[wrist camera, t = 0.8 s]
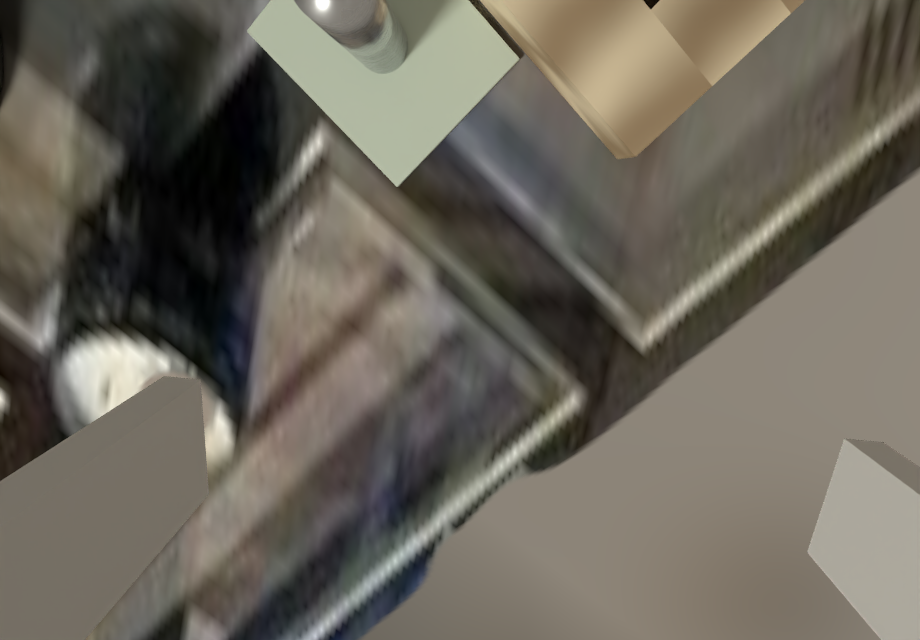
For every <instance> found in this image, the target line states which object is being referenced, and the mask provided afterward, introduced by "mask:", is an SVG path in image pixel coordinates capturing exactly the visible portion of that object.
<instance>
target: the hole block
mask: <svg viewBox="0 0 920 640" xmlns="http://www.w3.org/2000/svg"><path fill="white" fill-rule="evenodd" d="M480 1H481V2H482V4H483V5H484V6H485V7H486V8H487V9H488V11H489V12H490V13H491V14H492V15H493V16H494V17H495V19H496V20H497V21H498V22H499V23H500V24H501V26H502V27H503V28H504V29H505V30H506V31H507V32H508V34H509V35H510V36H511V37H512V38H513V39H514V41H515V42H516V43H517V44H518V45H519V46H520V47H521V49H522V50H523V51H524V52H525V53H526V54H527V56H528V57H529V58H530V59H531V60H532V61H533V62H534V64H535V65H536V66H537V67H538V68H539V69H540V70H541V72H542V73H543V74H544V75H545V76H546V77H547V79H548V80H549V81H550V82H551V83H552V84H553V85H554V87H555V88H556V89H557V90H558V91H559V92H560V94H561V95H562V96H563V97H564V98H565V99H566V100H567V102H568V103H569V104H570V105H571V106H572V107H573V109H574V110H575V111H576V112H577V113H578V114H579V115H580V117H581V118H582V119H583V120H584V121H585V122H586V124H587V125H588V126H589V127H590V128H591V129H592V130H593V132H594V133H595V134H596V135H597V136H598V137H599V139H600V140H601V141H602V142H603V143H604V144H605V145H606V147H607V148H608V149H609V150H610V151H611V152H612V154H613V155H614V156H615V157H616V158H617V159H623V158H630V157H636V156H637V155H638V154H639V153H640V152H641V151H642V150H644V149H645V148H646V147H647V146H648V145H649V144H650V143H651V142H652V141H653V140H654V139H655V138H657V137H658V136H659V135H660V134H661V133H662V132H663V131H664V130H665V129H666V128H667V127H668V126H670V125H671V124H672V123H673V122H674V121H675V120H676V119H677V118H678V117H679V116H680V115H681V114H682V113H684V112H685V111H686V110H687V109H688V108H689V107H690V106H691V105H692V104H693V103H694V102H695V101H697V100H698V99H699V98H700V97H701V96H702V95H703V94H704V93H705V92H706V91H707V90H708V89H710V88H711V87H712V86H713V85H714V84H715V83H716V82H717V81H718V80H719V79H720V78H721V77H723V76H724V75H725V74H726V73H727V72H728V71H729V70H730V69H731V68H732V67H733V66H734V65H736V64H737V63H738V62H739V61H740V60H741V59H742V58H743V57H744V56H745V55H746V54H747V53H749V52H750V51H751V50H752V49H753V48H754V47H755V46H756V45H757V44H758V43H759V42H760V41H762V40H763V39H764V38H765V37H766V36H767V35H768V34H769V33H770V32H771V31H772V30H773V29H775V28H776V27H777V26H778V25H779V24H780V23H781V22H782V21H783V20H784V19H785V18H786V17H788V16H789V15H790V14H791V13H792V12H793V11H794V10H795V9H796V8H797V7H798V6H799V5H801V4H802V3H803V2H804V1H805V0H660V1H659V2H658V3H657V4H656V5H655V6H654V7H653V8H652V9H651V10H650V8H649V7H648V6H647V5H646V3H645V2H644V1H643V0H480Z"/></svg>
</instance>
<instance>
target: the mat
mask: <svg viewBox="0 0 920 640" xmlns="http://www.w3.org/2000/svg"><path fill="white" fill-rule="evenodd" d="M387 1H388V3H389V5H390V6H391V8H392V10H393V11H394V13H395V15H396V17H397V18H398V20H399V22H400V23H401V25H402V27H403V28H404V30H405V32H406V35H407V38H408V52H407V56H406V58H405V60H404V62H403V63H402V65H401V66H400V67H399V68H398V69H396V70H395V71H393V72H390V73H386V74H379V73H375V72H373V71H371V70H369V69H368V68H366V67H365V66H364V65H363V64H362V63H361V62H359V61H358V60H357V59H356V58H355V57H354V56H353V55H351V54H350V53H349V52H348V51H347V50H346V49H345V48H343V47H342V46H341V45H340V44H339V43H338V42H337V41H335V40H334V39H333V38H332V37H331V36H330V35H328V34H327V33H326V32H325V31H324V30H323V29H322V28H320V27H319V26H318V25H317V24H316V23H315V22H314V21H312V20H311V19H310V18H309V17H308V16H307V15H305V14H304V13H303V12H302V11H301V10H300V8H299V7H298V6H297V4H296V3H295V1H294V0H271V1H270V2H269V3H268V5H267V6H266V7H265V8H264V10H263V11H262V12H261V14H260V15H259V16H258V17H257V19H256V20H255V21H254V22H253V24H252V25H251V26H250V28H249V29H248V30H247V32H248V33H249V34H250V35H251V36H252V37H253V38H254V39H255V40H256V41H257V42H258V43H259V44H260V45H261V47H262V48H263V49H264V50H265V51H266V52H267V53H268V54H269V55H270V56H271V57H272V58H273V59H274V60H275V61H276V62H277V63H278V64H279V65H280V66H281V67H282V68H283V69H284V70H285V71H286V72H287V73H288V74H289V76H290V77H291V78H292V79H293V80H294V81H295V82H296V83H297V84H298V85H299V86H300V87H301V88H302V89H303V90H304V91H305V92H306V93H307V94H308V95H309V96H310V97H311V98H312V99H313V100H314V101H315V102H316V104H317V105H318V106H319V107H320V108H321V109H322V110H323V111H324V112H325V113H326V114H327V115H328V116H329V117H330V118H331V119H332V120H333V121H334V122H335V123H336V124H337V125H338V126H339V127H340V128H341V129H342V130H343V131H344V133H345V134H346V135H347V136H348V137H349V138H350V139H351V140H352V141H353V142H354V143H355V144H356V145H357V146H358V147H359V148H360V149H361V150H362V151H363V152H364V153H365V154H366V155H367V156H368V157H369V158H370V159H371V161H372V162H373V163H374V164H375V165H376V166H377V167H378V168H379V169H380V170H381V171H382V172H383V173H384V174H385V175H386V176H387V177H388V178H389V179H390V180H391V181H392V182H393V183H394V184H395V185H396V186H397V187H399V186H400V185H401V184H402V183H403V181H404V180H405V179H406V178H407V177H408V176H409V175H410V174H411V173H412V172H413V171H414V170H415V169H416V168H417V167H418V166H419V165H420V164H421V163H422V162H423V161H424V159H425V158H426V157H427V156H428V155H429V154H430V153H431V152H432V151H433V150H434V149H435V148H436V147H437V146H438V145H439V144H440V143H441V142H442V141H443V140H444V139H445V137H446V136H447V135H448V134H449V133H450V132H451V131H452V130H453V129H454V128H455V127H456V126H457V125H458V124H459V123H460V122H461V121H462V120H463V119H464V118H465V117H466V115H467V114H468V113H469V112H470V111H471V110H472V109H473V108H474V107H475V106H476V105H477V104H478V103H479V102H480V101H481V100H482V99H483V98H484V97H485V96H486V95H487V93H488V92H489V91H490V90H491V89H492V88H493V87H494V86H495V85H496V84H497V83H498V82H499V81H500V80H501V79H502V78H503V77H504V76H505V75H506V74H507V73H508V72H509V70H510V69H511V68H512V67H513V66H514V65H515V64H516V63H517V62H518V61H519V58H518V56H517V55H516V54H515V53H514V52H513V51H512V50H511V48H510V47H509V46H508V45H507V44H506V43H505V41H504V40H503V39H502V38H501V37H500V36H499V35H498V33H497V32H496V31H495V30H494V29H493V28H492V27H491V25H490V24H489V23H488V22H487V21H486V20H485V19H484V17H483V16H482V15H481V14H480V13H479V12H478V10H477V9H476V8H475V7H474V6H473V5H472V4H471V2H470V1H469V0H387Z"/></svg>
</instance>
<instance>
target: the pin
mask: <svg viewBox="0 0 920 640" xmlns="http://www.w3.org/2000/svg"><path fill="white" fill-rule="evenodd" d="M294 1H295V3H296V4H297V6H298V7H299V8H300V10H301V11H302V12H303V13H304V14H305V15H307V16H308V17H309V18H310V19H311V20H312V21H314V22H315V23H316V24H317V25H318V26H319V27H320V28H322V29H323V30H324V31H325V32H326V33H327V34H328V35H330V36H331V37H332V38H333V39H334V40H335V41H337V42H338V43H339V44H340V45H341V46H342V47H343V48H345V49H346V50H347V51H348V52H349V53H350V54H351V55H353V56H354V57H355V58H356V59H357V60H358V61H359V62H361V63H362V64H363V65H364V66H365V67H366V68H368V69H369V70H371V71H373V72H375V73H379V74H386V73H390V72H393V71H395V70H396V69H398V68H399V67H400V66H401V65H402V63H403V62H404V60H405V58H406V56H407V52H408V38H407V35H406V32H405V30H404V28H403V27H402V25H401V23H400V22H399V20H398V18H397V17H396V15H395V13H394V11H393V10H392V8H391V6H390V5H389V3H388V1H387V0H294Z"/></svg>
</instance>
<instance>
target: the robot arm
mask: <svg viewBox="0 0 920 640" xmlns="http://www.w3.org/2000/svg"><path fill="white" fill-rule="evenodd" d="M2 72H3V58H2V47H1V40H0V90H1V83H2ZM208 495H209V491H208V477H207V464H206V450H205V436H204V422H203V409H202V394H201V380H199V379H188V378H177V377H166V376H164V377H162V378H161V379H159V380H157V381H156V382H154V383H153V384H151V385H150V386H148V387H147V388H145V389H143V390H142V391H140V392H139V393H137V394H136V395H134V396H133V397H131V398H129V399H128V400H126V401H125V402H123V403H122V404H120V405H119V406H117V407H115V408H114V409H112V410H111V411H109V412H108V413H106V414H104V415H103V416H101V417H100V418H98V419H97V420H95V421H94V422H92V423H90V424H89V425H87V426H86V427H84V428H83V429H81V430H80V431H78V432H76V433H75V434H73V435H72V436H70V437H69V438H67V439H66V440H64V441H62V442H61V443H59V444H58V445H56V446H55V447H53V448H51V449H50V450H48V451H47V452H45V453H44V454H42V455H41V456H39V457H37V458H36V459H34V460H33V461H31V462H30V463H28V464H27V465H25V466H23V467H22V468H20V469H19V470H17V471H16V472H14V473H13V474H11V475H9V476H8V477H6V478H5V479H3V480H2V481H0V640H85V639H86V638H87V637H88V635H89V634H90V633H91V632H92V631H93V630H94V628H95V627H96V626H97V625H98V624H99V622H100V621H101V620H102V619H103V618H104V617H105V615H106V614H107V613H108V612H109V611H110V610H111V608H112V607H113V606H114V605H115V604H116V603H117V601H118V600H119V599H120V598H121V597H122V595H123V594H124V593H125V592H126V591H127V590H128V588H129V587H130V586H131V585H132V584H133V583H134V581H135V580H136V579H137V578H138V577H139V576H140V574H141V573H142V572H143V571H144V570H145V569H146V567H147V566H148V565H149V564H150V563H151V561H152V560H153V559H154V558H155V557H156V556H157V554H158V553H159V552H160V551H161V550H162V549H163V547H164V546H165V545H166V544H167V543H168V542H169V540H170V539H171V538H172V537H173V536H174V534H175V533H176V532H177V531H178V530H179V529H180V527H181V526H182V525H183V524H184V523H185V522H186V520H187V519H188V518H189V517H190V516H191V515H192V513H193V512H194V511H195V510H196V509H197V508H198V506H199V505H200V504H201V503H202V502H203V500H204V499H205V498H206V497H207V496H208ZM807 553H808V554H809V555H810V556H811V557H812V559H813V560H814V561H815V562H816V563H817V564H818V566H819V567H820V568H821V569H822V570H823V572H825V574H826V575H827V576H828V577H829V579H830V580H831V581H832V582H833V583H834V584H835V586H836V587H837V588H838V589H839V591H840V592H841V593H842V594H843V595H844V596H845V598H846V599H847V600H848V601H849V602H850V604H851V605H852V606H853V607H854V608H855V609H856V610H857V612H858V613H859V614H860V615H861V617H863V619H864V620H865V621H866V622H867V623H868V625H869V626H870V627H871V628H872V630H873V631H874V632H875V633H876V634H877V636H878V637H879V638H880V639H881V640H920V467H919V466H917V465H916V464H914V463H913V462H911V461H910V460H908V459H907V458H905V457H904V456H903V455H901V454H900V453H898V452H897V451H895V450H894V449H892V448H891V447H889V446H888V445H886V444H885V443H884V442H874V441H864V440H853V439H844V442H843V445H842V448H841V451H840V454H839V457H838V460H837V463H836V466H835V469H834V472H833V475H832V478H831V482H830V484H829V487H828V490H827V494H826V497H825V500H824V503H823V506H822V509H821V512H820V515H819V518H818V521H817V524H816V527H815V530H814V534H813V536H812V539H811V542H810V546H809V549H808V552H807Z"/></svg>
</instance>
